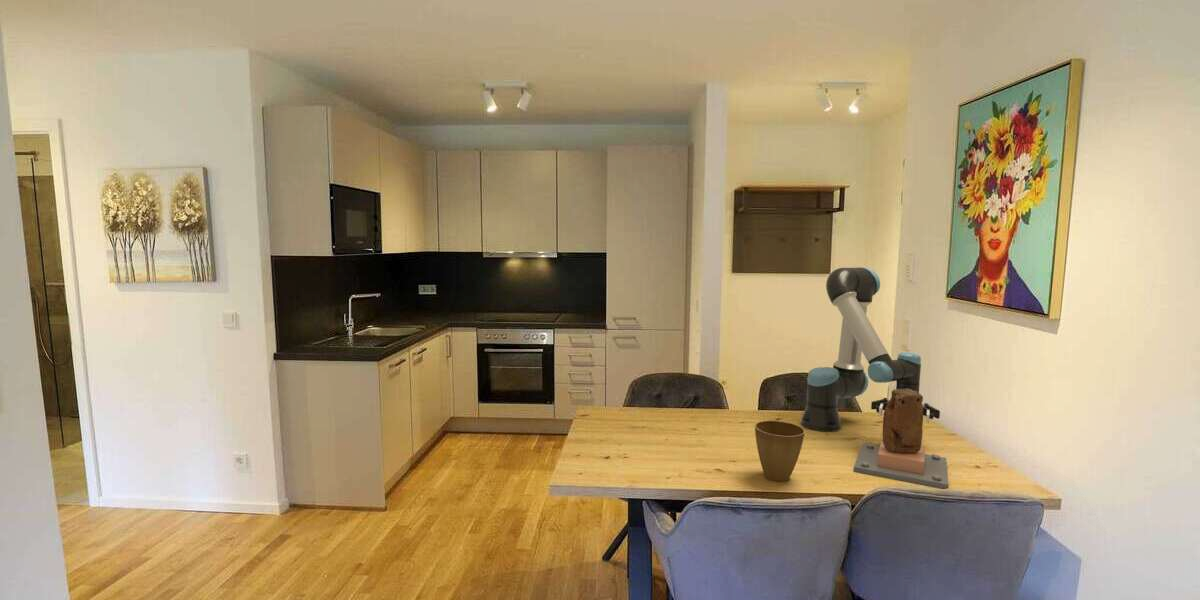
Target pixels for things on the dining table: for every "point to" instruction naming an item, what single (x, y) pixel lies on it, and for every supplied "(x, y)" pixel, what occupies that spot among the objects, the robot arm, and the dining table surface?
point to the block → (903, 422)
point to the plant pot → (778, 448)
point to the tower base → (903, 474)
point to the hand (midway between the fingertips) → (903, 415)
